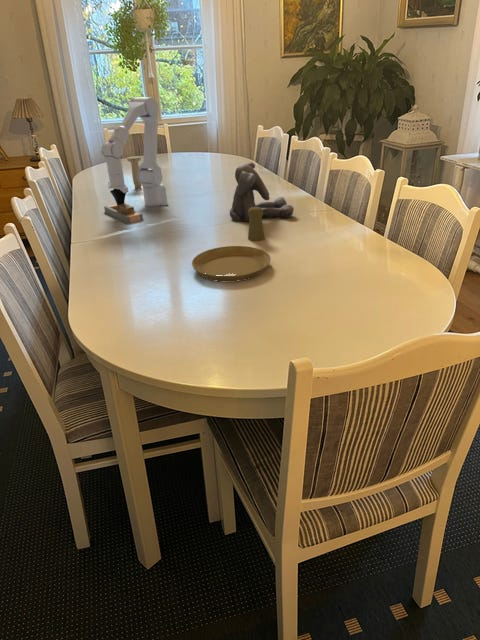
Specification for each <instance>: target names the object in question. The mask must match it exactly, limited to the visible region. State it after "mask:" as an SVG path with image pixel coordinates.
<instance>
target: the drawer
mask: <svg viewBox="0 0 480 640" xmlns="http://www.w3.org/2000/svg"><path fill="white" fill-rule="evenodd" d="M118 206H119V212H121V213H123V214H125V215H129V214H133V213H135V212H134V210H135V206H132V205H130V204H128V203H126V202H124V204H119V205H118Z"/></svg>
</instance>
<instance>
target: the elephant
mask: <svg viewBox="0 0 480 640" xmlns="http://www.w3.org/2000/svg"><path fill="white" fill-rule="evenodd" d="M255 168H256V164H255V163H254V162H251V161H250V162H248V163H244V164H241V165H239V166H237V168H236V169H235V173H234V177H235V181H236V183H237V185H236V187H235V189H234V195H233V197H232V198H233V200H232V204H231V208H230V210H229V216H230V218H231V219H232V221H235V222H242V223H249V221H250V217H249V215H248V210H249V209H250V208H251V207H260V208H262V210H263V215H262V219H268V218H283V219H285V218H290V217H291V216H292V215H293V214H294V206H293V205H290V204H288V203H287V201H286V199H285V197H283V196H282V197H281V196H280V197H276V199H275V200H274V201H270V192H269V191H268V188H267V187H266V185H265V183H264V181H263V180H262V178H261V177H260V175H259V173H258V172H257V171H256V170H255ZM254 191H256V192H257V193H259V195H260V197H261V198H262V199H263V200H264V201H263V202H259V203H255V202H256V201H255V194H254Z"/></svg>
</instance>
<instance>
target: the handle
mask: <svg viewBox="0 0 480 640" xmlns="http://www.w3.org/2000/svg"><path fill="white" fill-rule="evenodd" d="M141 160H142V157H141V156H139V155H136V156H135V155H134V156H128V157H127V161H128V162H130V165H131V175H132V176H131V177H132V182H133V186H134V189H135V190H136V189H137V190H139V189H142V186H141V183H139V181H138V179H137V174H138V171H139V166H140V164H139V161H141Z"/></svg>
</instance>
